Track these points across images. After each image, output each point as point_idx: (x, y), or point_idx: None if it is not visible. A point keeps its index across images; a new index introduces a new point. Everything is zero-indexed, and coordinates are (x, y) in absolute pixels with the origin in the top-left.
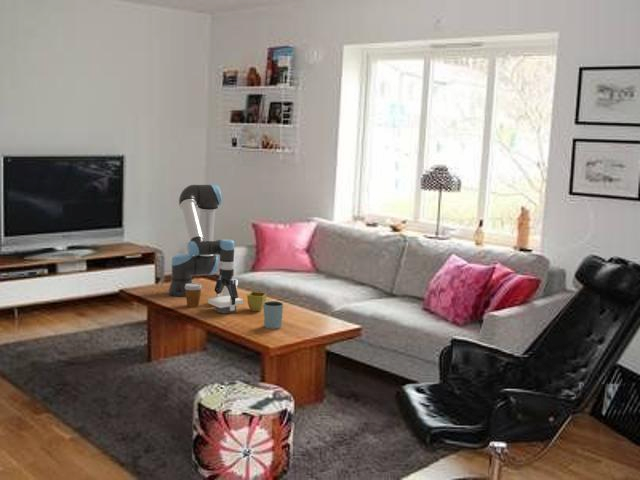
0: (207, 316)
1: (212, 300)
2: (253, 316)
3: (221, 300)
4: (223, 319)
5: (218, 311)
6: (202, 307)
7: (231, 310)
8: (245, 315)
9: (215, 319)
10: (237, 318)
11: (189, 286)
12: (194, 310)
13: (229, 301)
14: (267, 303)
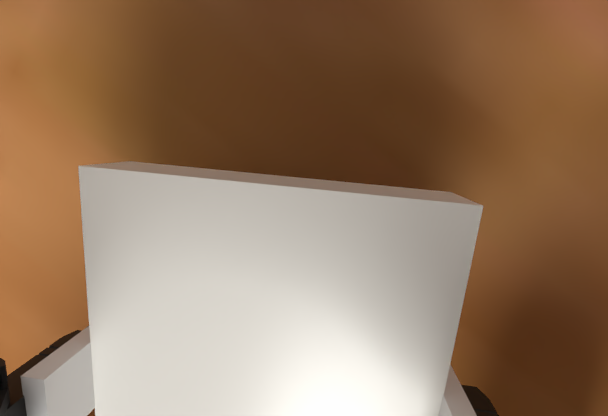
0: (215, 15)
1: (322, 190)
2: (15, 362)
3: (228, 304)
4: (40, 90)
5: None
6: (565, 211)
7: None
8: None
9: (74, 17)
10: (16, 221)
11: None
12: (528, 45)
13: (114, 353)
14: None
